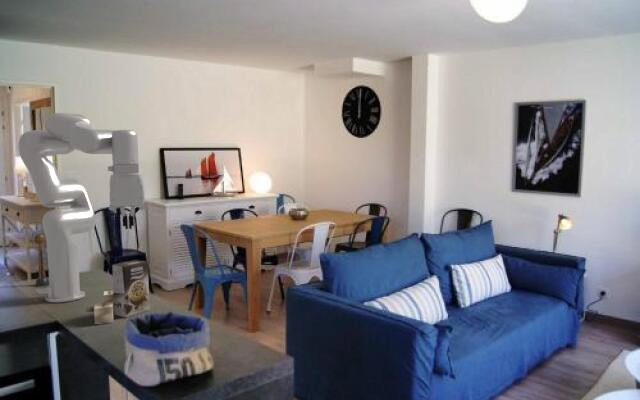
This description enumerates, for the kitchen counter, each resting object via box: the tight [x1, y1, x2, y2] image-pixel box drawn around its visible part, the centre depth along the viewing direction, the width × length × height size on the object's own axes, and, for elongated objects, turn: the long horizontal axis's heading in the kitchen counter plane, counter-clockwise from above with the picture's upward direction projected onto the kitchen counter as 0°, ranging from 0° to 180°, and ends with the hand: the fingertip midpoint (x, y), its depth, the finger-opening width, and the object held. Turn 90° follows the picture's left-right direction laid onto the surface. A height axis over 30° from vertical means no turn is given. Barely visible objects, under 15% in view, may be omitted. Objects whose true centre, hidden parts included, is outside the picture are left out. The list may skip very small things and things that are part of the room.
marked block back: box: [103, 290, 114, 310], centre depth 172 cm, size 5×5×5 cm
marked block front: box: [93, 302, 114, 325], centre depth 157 cm, size 5×5×5 cm
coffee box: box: [112, 259, 150, 318], centre depth 165 cm, size 9×6×16 cm
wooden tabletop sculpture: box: [29, 233, 50, 287], centre depth 202 cm, size 6×5×20 cm
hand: (128, 228), depth 164 cm, fingers closed
